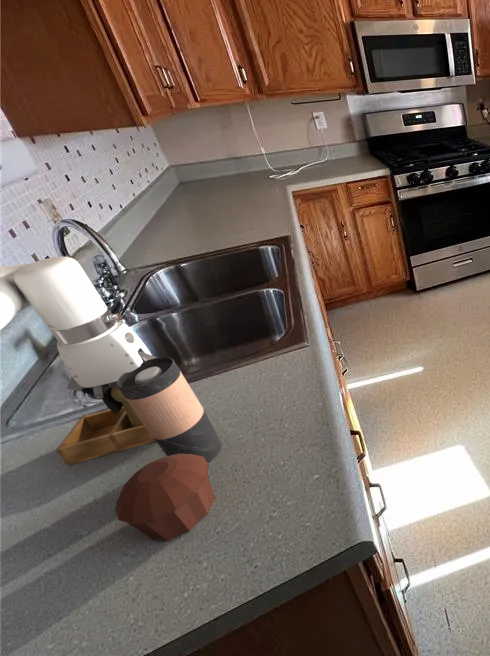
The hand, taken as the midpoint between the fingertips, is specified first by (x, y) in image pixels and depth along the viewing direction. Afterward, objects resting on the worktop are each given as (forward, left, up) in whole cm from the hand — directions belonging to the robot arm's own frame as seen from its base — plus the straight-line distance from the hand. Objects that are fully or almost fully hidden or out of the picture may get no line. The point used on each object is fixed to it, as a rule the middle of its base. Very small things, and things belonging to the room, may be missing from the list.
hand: (137, 402), depth 80 cm
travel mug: (+11, -11, -7) cm, 17 cm away
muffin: (+12, -23, -7) cm, 27 cm away
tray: (-4, 0, -7) cm, 8 cm away
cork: (0, 0, -6) cm, 6 cm away
